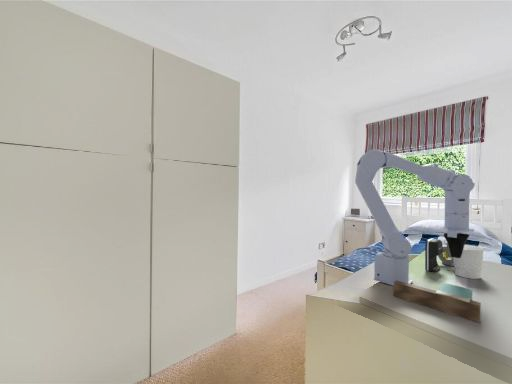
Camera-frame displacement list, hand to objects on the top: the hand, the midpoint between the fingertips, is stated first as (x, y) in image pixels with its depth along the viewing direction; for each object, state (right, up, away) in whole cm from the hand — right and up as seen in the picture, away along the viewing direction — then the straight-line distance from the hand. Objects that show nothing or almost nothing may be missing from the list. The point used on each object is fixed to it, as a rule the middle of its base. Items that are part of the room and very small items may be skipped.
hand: (456, 257), depth 73 cm
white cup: (+12, -9, +9) cm, 18 cm away
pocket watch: (+15, -9, +20) cm, 26 cm away
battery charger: (+5, -9, +15) cm, 18 cm away
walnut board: (-15, -10, -11) cm, 21 cm away
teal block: (-9, -10, -11) cm, 17 cm away
